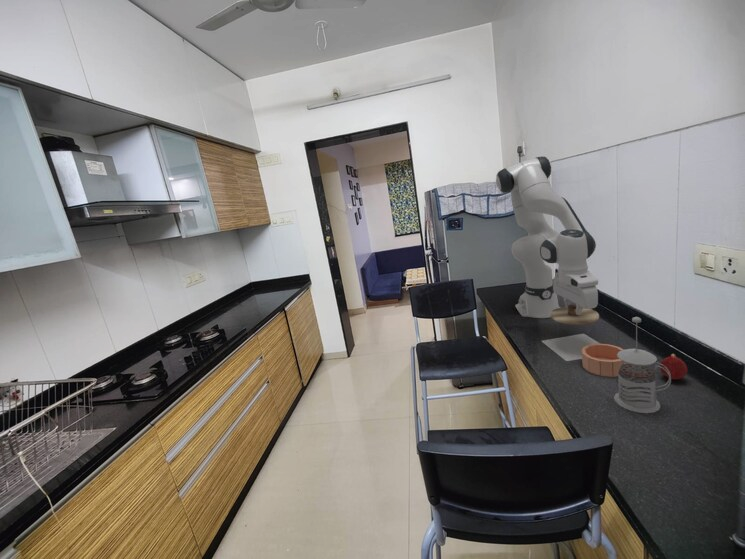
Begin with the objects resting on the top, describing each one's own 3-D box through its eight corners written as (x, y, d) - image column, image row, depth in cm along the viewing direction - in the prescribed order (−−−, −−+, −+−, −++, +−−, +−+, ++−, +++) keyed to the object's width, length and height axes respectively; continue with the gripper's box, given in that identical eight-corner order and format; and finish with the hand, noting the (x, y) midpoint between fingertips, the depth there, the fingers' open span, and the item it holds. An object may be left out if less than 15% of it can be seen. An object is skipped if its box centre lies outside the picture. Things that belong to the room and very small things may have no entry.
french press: (614, 387, 93) (613, 309, 87) (668, 397, 86) (671, 311, 80) (612, 407, 86) (611, 322, 80) (671, 419, 78) (674, 327, 73)
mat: (541, 341, 126) (541, 340, 126) (583, 334, 126) (583, 333, 126) (566, 362, 110) (566, 361, 110) (615, 353, 109) (615, 352, 109)
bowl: (574, 361, 109) (573, 347, 108) (609, 355, 109) (609, 341, 107) (598, 380, 98) (598, 364, 96) (638, 373, 97) (638, 357, 96)
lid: (542, 312, 123) (542, 303, 122) (580, 305, 122) (580, 296, 121) (565, 327, 108) (565, 317, 107) (609, 320, 108) (609, 309, 107)
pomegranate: (692, 384, 88) (693, 358, 87) (668, 385, 90) (668, 360, 88) (677, 373, 94) (678, 349, 92) (654, 374, 95) (655, 350, 94)
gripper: (547, 270, 122) (549, 304, 125) (582, 284, 102) (583, 323, 105) (564, 268, 121) (565, 301, 125) (602, 281, 102) (602, 320, 105)
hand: (573, 311), depth 115 cm, fingers closed on lid, 3 cm apart
